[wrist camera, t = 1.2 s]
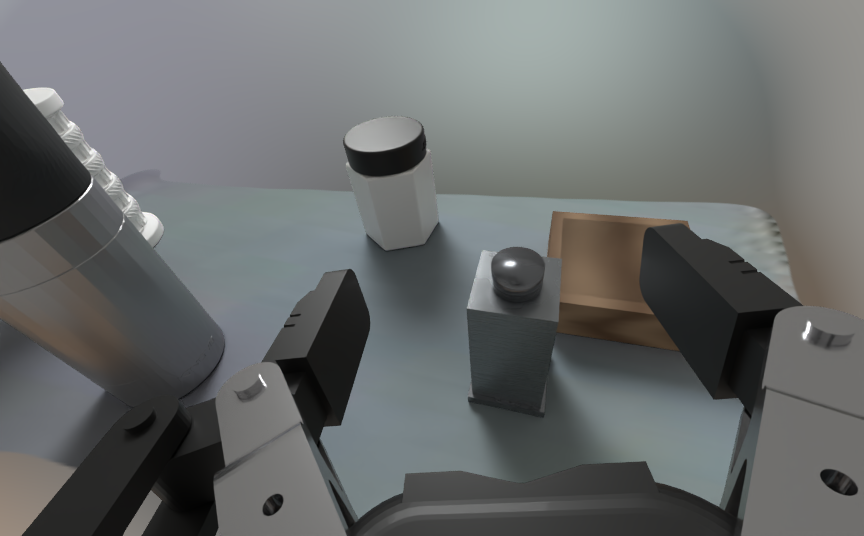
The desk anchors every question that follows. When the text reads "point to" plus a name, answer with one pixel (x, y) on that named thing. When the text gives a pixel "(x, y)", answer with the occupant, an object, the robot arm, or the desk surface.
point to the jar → (392, 180)
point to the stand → (604, 278)
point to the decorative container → (94, 163)
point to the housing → (513, 328)
